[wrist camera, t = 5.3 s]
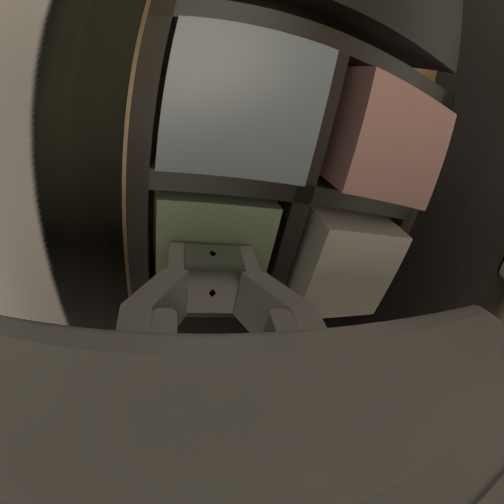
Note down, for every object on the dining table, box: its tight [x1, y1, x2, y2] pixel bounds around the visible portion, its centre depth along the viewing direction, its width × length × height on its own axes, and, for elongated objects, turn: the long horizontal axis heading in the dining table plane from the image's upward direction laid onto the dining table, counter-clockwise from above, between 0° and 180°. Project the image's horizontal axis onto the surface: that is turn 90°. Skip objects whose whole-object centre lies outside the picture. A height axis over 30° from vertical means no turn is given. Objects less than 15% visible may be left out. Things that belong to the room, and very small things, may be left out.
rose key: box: [320, 66, 457, 211], centre depth 8 cm, size 4×4×2 cm
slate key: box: [155, 16, 339, 187], centre depth 7 cm, size 4×4×2 cm
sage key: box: [156, 190, 283, 274], centre depth 11 cm, size 4×4×2 cm
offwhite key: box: [285, 205, 413, 318], centre depth 11 cm, size 4×4×2 cm
